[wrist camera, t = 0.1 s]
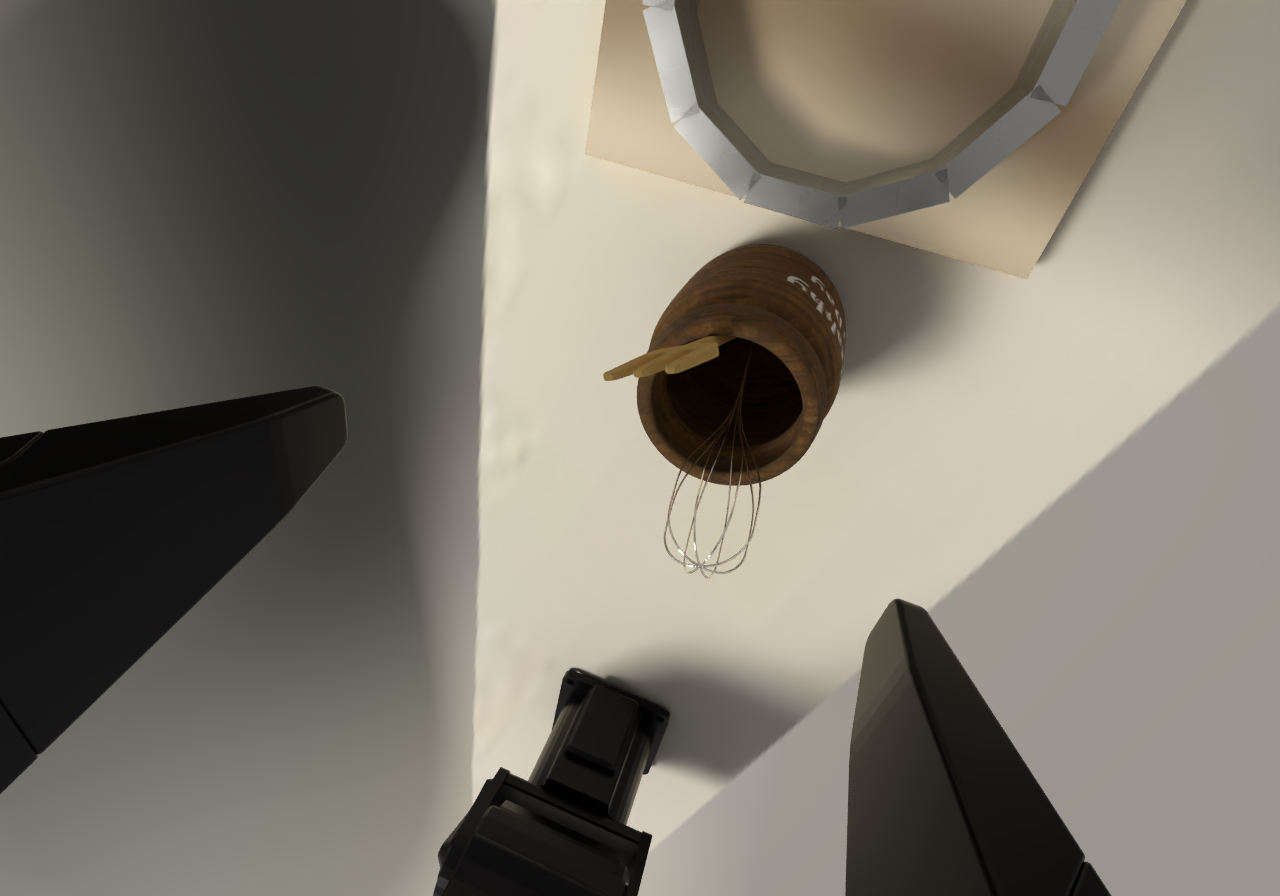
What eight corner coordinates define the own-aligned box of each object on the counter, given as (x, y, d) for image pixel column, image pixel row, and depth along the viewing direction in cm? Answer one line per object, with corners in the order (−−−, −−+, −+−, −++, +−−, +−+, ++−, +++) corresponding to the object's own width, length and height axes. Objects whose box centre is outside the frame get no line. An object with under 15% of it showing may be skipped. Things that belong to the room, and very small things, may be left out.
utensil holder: (698, 405, 25) (587, 621, 15) (664, 246, 22) (500, 386, 12) (853, 391, 23) (842, 636, 13) (837, 212, 20) (806, 351, 10)
